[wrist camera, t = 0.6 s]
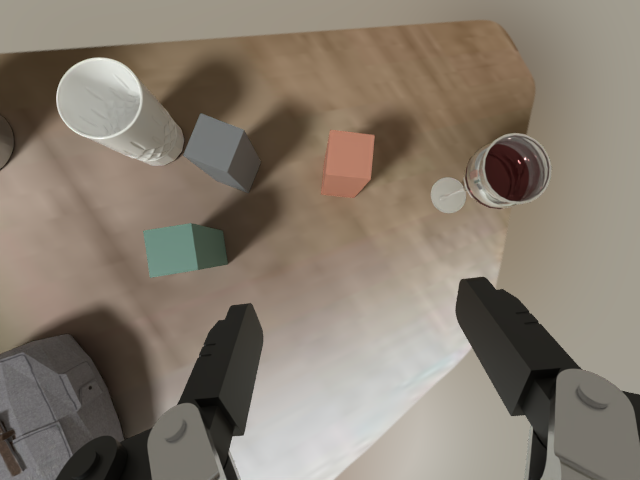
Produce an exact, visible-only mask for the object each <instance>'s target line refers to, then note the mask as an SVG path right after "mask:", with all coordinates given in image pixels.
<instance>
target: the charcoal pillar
mask: <svg viewBox="0 0 640 480" xmlns="http://www.w3.org/2000/svg"><path fill="white" fill-rule="evenodd" d="M183 156H184V157H186V158H187V159H188V160H190V161H191V162H192V163H194V164H195V165H196V166H198V167H199V168H200V169H202V170H203V171H204V172H206V173H207V174H208V175H210V176H211V177H212V178H213V179H215V180H216V181H218V182H221V183H223V184H226V185H229V186H231V187H234V188H237V189H239V190H242V191H244V192H247V193H249V191H250V189H251V186H252V184H253V181H254V179H255V176H256V174H257V171H258V169H259V166H260V163H261V161H260V159H259V157H258V155H257V153H256V152H255V150H254V148H253V146H252V144H251V142H250V140H249V138H248V136H247V135H246V133H245V131H244V130H243V129H240V128H238V127H235V126H232V125H230V124H227V123H225V122H222V121H220V120H217V119H214V118H212V117H209V116H207V115H204V114H202V113H200V116H199V118H198V120H197V123H196V125H195V128H194V130H193V133H192V135H191V137H190V140H189V142H188V145H187V147H186V150H185V152H184V154H183Z"/></svg>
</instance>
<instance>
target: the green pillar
mask: <svg viewBox="0 0 640 480" xmlns="http://www.w3.org/2000/svg"><path fill="white" fill-rule="evenodd" d="M143 232H144V239H145V246H146V253H147V260H148V267H149V274H150V278H151V277H157V276H163V275H169V274H175V273H182V272H188V271H194V270H200V269H205V268H211V267H216V266H222V265H228V262H227V255H226V249H225V242H224V236H223V231H222V230H218V229H214V228H209V227H205V226H201V225H196V224H192V223H190V224H184V225H177V226H171V227H164V228H158V229H152V230H145V231H143Z"/></svg>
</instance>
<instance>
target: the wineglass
mask: <svg viewBox="0 0 640 480" xmlns="http://www.w3.org/2000/svg"><path fill="white" fill-rule="evenodd" d="M551 170H552V167H551V163H550V158H549V155H548V154H547V152H546V150H545V148H544V147H543V146H542V145H541V144H540V143H539V142H538V141H537V140H536V139H534V138H532V137H530V136H528V135H526V134H519V133H512V134H506V135H503V136H501V137H500V138H498V139H496V140H495V141H494V142H491V143H488V144H487V145H485V146H483V147H481V148H480V149H479V150H477V151H476V153H475V154H474V155H473V156H472V157H471V158H470V159H469V161H468V163H467V166H466V168H465V170H464V184H465V186H464V187H463V185H462V184H461V183H460V182H459V181H458V180H456V179H454V178H450V177H446V178H442V179H440V180H438V181H437V182H436V183H435V184H434V185H433V187H432V190H431V199H432V202H433V204H434V206H435V207H436V208H437V209H438V210H440V211H442V212H444V213H453V212H456V211H458V210H460V209H461V207H462V206H463V205H464V203H465V200H466V192H465V191H467V192H468V193H469V195H470V196H471V197H472V198H473V199H474V200H475V201H476V202H478V203H480V204H482V205H484V206H486V207H489V208H497V209H502V208H507V207H512V206H515V205H517V204H522V203H528V202H531V201H533V200H535V199H536V198H538V197H540V196H541V194H542V193H543V192H544V191H545V190H546V189H547V186H548V184H549V182H550V179H551Z"/></svg>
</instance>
